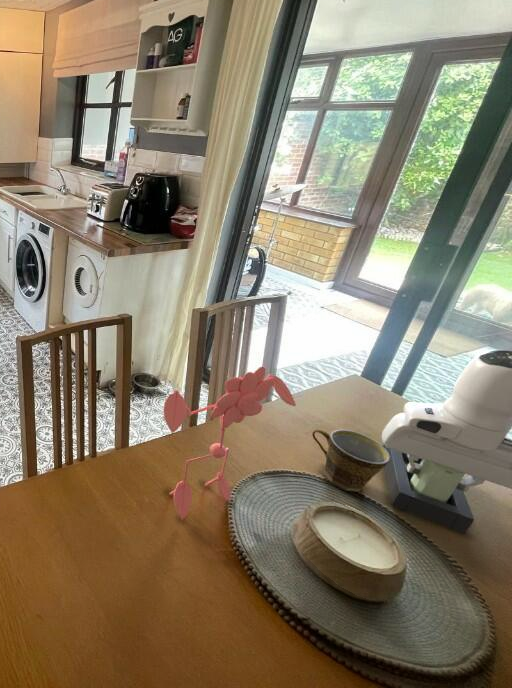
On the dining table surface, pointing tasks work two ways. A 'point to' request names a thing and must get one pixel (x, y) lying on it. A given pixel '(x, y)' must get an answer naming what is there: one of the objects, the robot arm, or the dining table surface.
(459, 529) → the holder
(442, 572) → the dining table surface
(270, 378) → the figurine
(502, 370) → the robot arm
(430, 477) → the bottle
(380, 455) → the ceramic cup
